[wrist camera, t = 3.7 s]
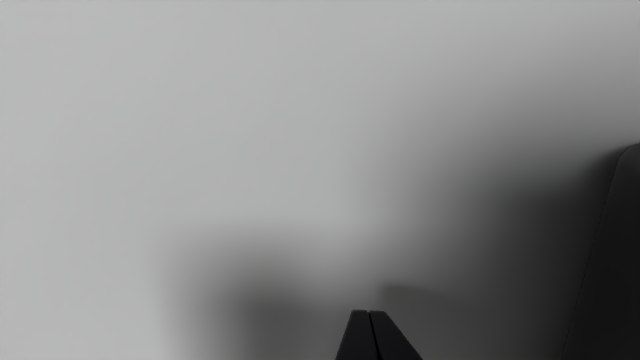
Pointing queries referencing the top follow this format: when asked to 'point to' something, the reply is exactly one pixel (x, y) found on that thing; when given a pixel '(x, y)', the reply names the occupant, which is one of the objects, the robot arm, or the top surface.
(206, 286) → the top surface
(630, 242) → the end cap
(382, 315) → the robot arm
